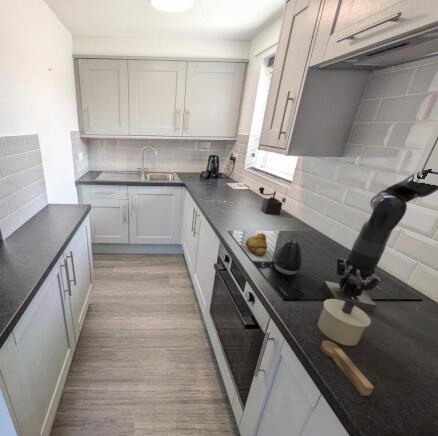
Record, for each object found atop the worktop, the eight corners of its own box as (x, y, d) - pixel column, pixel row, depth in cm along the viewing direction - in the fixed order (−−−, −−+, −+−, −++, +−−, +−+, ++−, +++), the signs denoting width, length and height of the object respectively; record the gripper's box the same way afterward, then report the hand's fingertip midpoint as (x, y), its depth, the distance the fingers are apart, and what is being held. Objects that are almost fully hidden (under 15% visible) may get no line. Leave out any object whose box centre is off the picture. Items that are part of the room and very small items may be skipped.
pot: (348, 323, 75) (356, 305, 72) (365, 350, 65) (376, 330, 63) (312, 315, 77) (319, 297, 74) (324, 340, 68) (332, 321, 65)
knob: (339, 289, 86) (343, 278, 84) (346, 287, 87) (351, 277, 85) (350, 296, 82) (355, 285, 80) (358, 294, 83) (363, 283, 82)
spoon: (374, 396, 54) (380, 387, 53) (356, 395, 54) (361, 387, 53) (331, 344, 67) (335, 337, 66) (316, 344, 67) (319, 336, 66)
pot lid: (357, 306, 72) (362, 295, 71) (378, 333, 62) (384, 322, 61) (317, 298, 75) (320, 288, 74) (331, 323, 65) (336, 312, 64)
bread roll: (268, 258, 111) (272, 243, 108) (247, 255, 113) (250, 240, 110) (262, 245, 123) (265, 232, 120) (243, 243, 125) (246, 230, 122)
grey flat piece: (357, 293, 89) (360, 286, 87) (373, 312, 80) (376, 304, 78) (322, 286, 92) (324, 280, 91) (332, 303, 83) (335, 296, 82)
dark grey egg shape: (267, 270, 101) (275, 239, 96) (277, 262, 108) (285, 233, 102) (292, 281, 94) (303, 249, 89) (301, 272, 101) (311, 241, 95)
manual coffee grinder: (274, 210, 179) (280, 187, 173) (279, 215, 169) (286, 191, 163) (253, 208, 181) (258, 186, 175) (257, 213, 171) (263, 189, 165)
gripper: (400, 261, 72) (378, 303, 79) (353, 240, 85) (337, 278, 92) (382, 263, 71) (361, 306, 77) (337, 241, 84) (322, 280, 90)
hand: (348, 291), depth 84 cm, fingers closed on knob, 4 cm apart
